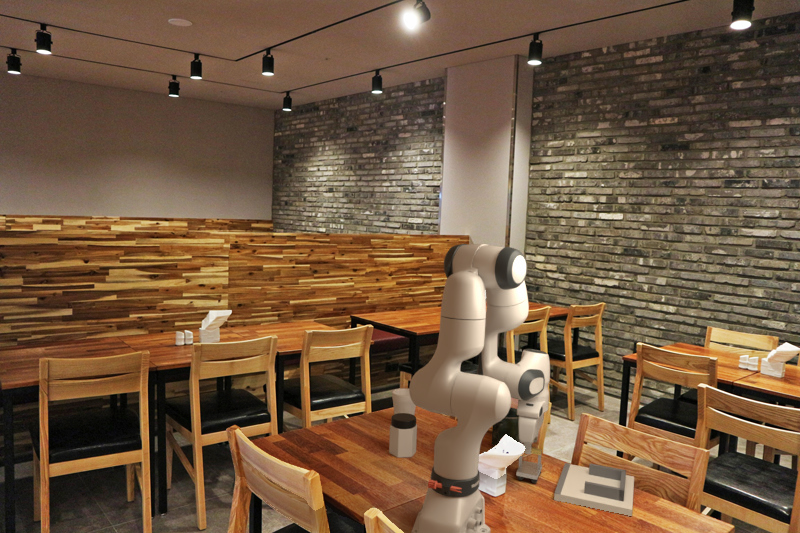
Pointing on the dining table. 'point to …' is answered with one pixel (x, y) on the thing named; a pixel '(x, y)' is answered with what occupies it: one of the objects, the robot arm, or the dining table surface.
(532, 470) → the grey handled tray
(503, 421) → the mug
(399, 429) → the jar
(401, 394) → the foam cup
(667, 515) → the dining table surface
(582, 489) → the dock
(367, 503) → the dining table surface
